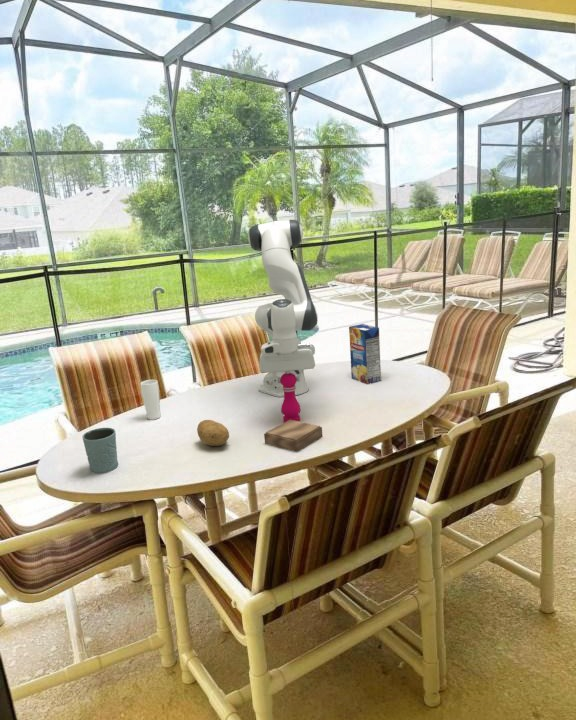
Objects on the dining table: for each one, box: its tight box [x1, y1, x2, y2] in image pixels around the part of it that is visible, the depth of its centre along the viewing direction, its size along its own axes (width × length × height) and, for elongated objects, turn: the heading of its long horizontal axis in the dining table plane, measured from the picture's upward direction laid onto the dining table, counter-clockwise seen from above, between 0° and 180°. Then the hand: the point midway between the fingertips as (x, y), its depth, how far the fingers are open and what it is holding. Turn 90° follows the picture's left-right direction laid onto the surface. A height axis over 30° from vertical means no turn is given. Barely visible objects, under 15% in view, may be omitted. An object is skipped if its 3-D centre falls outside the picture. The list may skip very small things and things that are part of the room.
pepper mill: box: [280, 371, 301, 423], centre depth 205 cm, size 7×7×20 cm
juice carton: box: [348, 323, 382, 385], centre depth 246 cm, size 12×8×24 cm, turn 28°
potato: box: [196, 419, 230, 447], centre depth 191 cm, size 10×14×8 cm
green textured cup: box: [82, 427, 119, 475], centre depth 179 cm, size 10×10×12 cm
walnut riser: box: [263, 420, 323, 453], centre depth 190 cm, size 14×14×4 cm
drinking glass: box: [140, 379, 161, 421], centre depth 221 cm, size 7×7×15 cm
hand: (288, 382), depth 204 cm, fingers closed on pepper mill, 6 cm apart
